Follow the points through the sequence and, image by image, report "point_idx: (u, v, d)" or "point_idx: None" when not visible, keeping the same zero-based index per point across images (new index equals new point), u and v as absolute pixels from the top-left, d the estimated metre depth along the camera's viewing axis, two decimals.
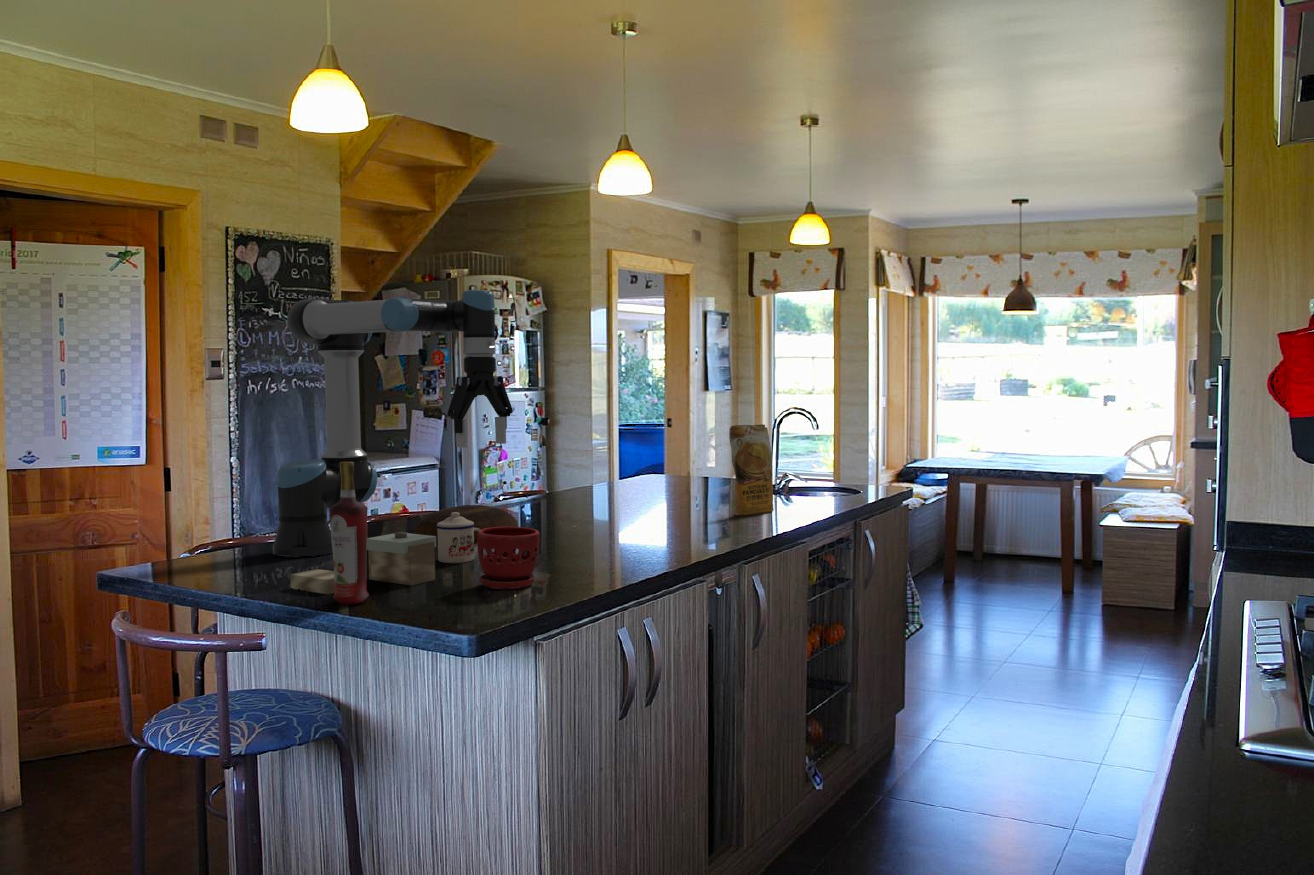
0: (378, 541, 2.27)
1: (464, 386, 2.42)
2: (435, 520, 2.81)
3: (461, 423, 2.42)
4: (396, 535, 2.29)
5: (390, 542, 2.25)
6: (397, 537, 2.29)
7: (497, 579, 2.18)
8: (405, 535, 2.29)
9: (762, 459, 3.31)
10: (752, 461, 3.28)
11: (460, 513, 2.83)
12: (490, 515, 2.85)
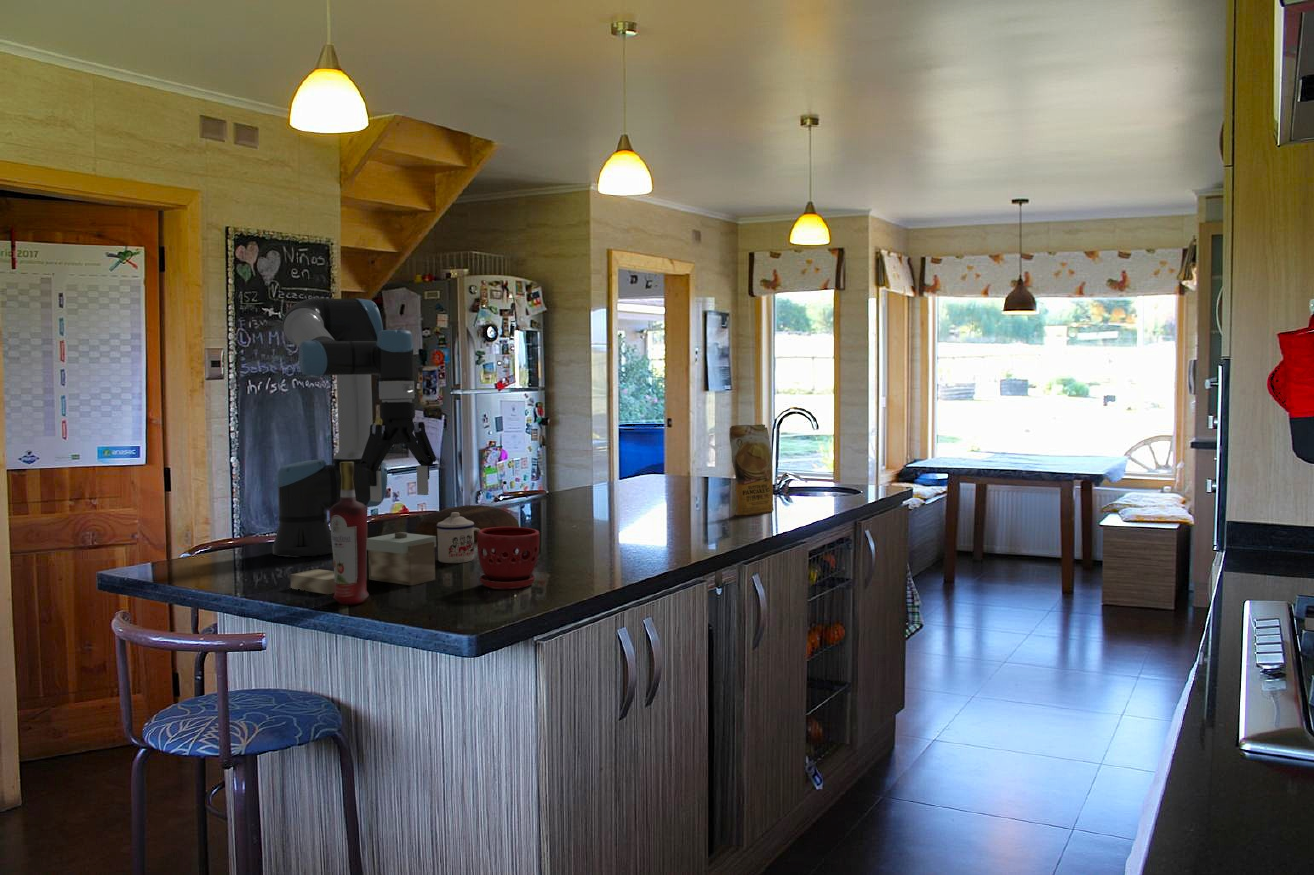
0: (378, 541, 2.27)
1: (378, 435, 2.22)
2: (436, 521, 2.81)
3: (374, 475, 2.22)
4: (396, 535, 2.29)
5: (390, 542, 2.25)
6: (397, 537, 2.29)
7: (497, 579, 2.18)
8: (405, 535, 2.29)
9: (762, 459, 3.31)
10: (752, 461, 3.28)
11: (461, 513, 2.82)
12: (491, 515, 2.84)
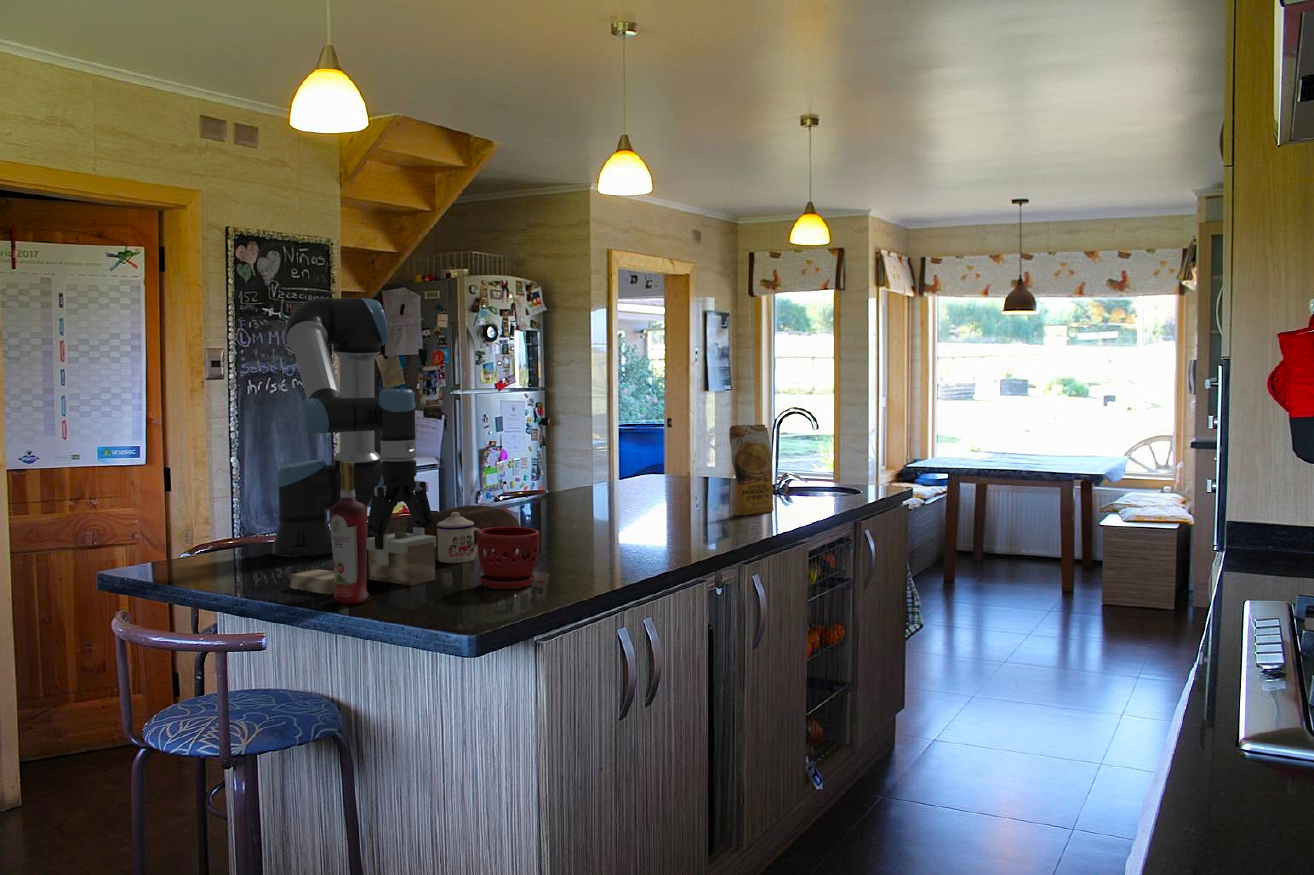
0: None
1: (381, 497, 2.23)
2: (437, 521, 2.80)
3: (381, 539, 2.24)
4: (396, 535, 2.29)
5: (390, 542, 2.25)
6: (397, 537, 2.29)
7: (497, 579, 2.18)
8: (405, 535, 2.29)
9: (762, 458, 3.31)
10: (752, 461, 3.28)
11: (462, 514, 2.82)
12: (491, 516, 2.84)
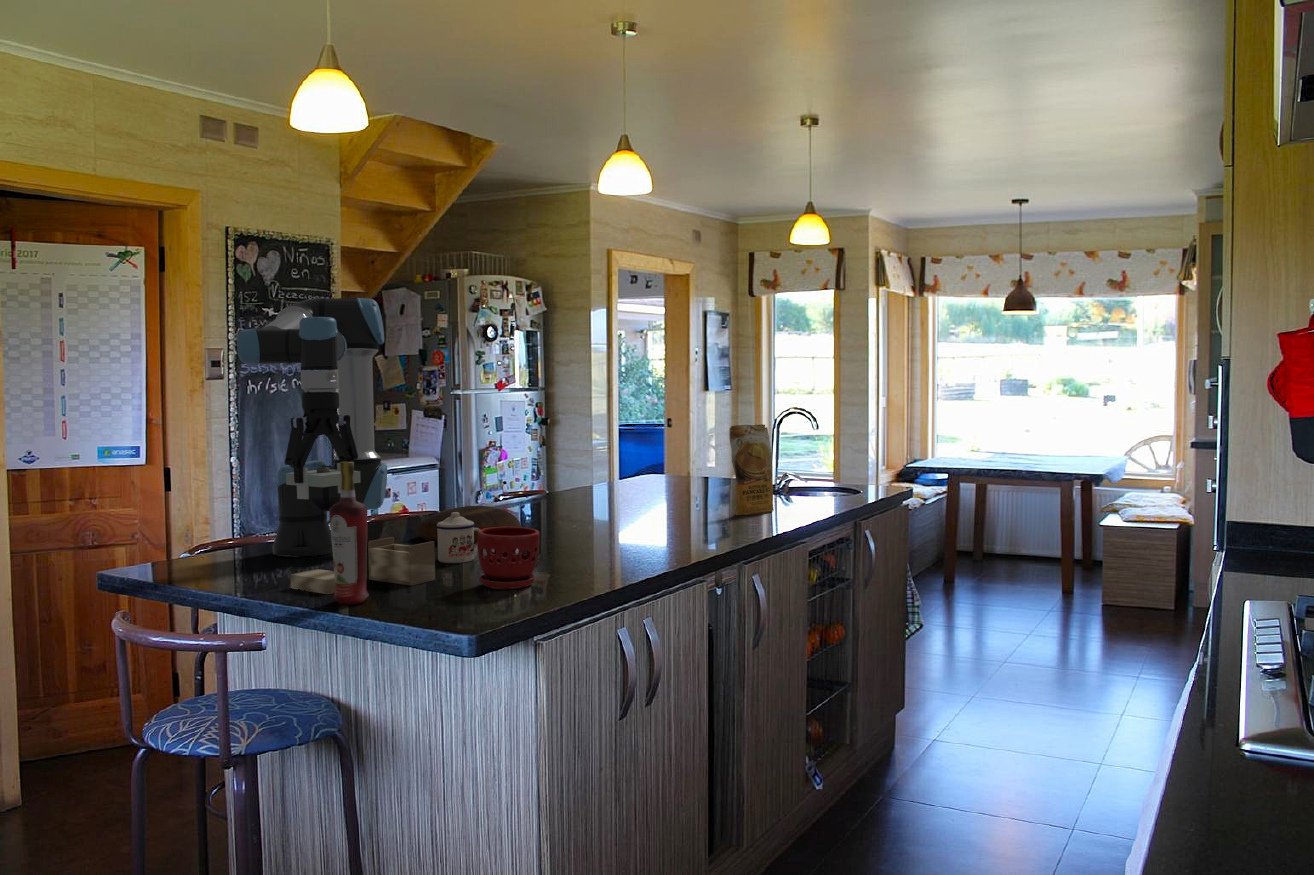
0: None
1: (300, 429, 2.14)
2: (439, 521, 2.79)
3: (301, 472, 2.15)
4: (318, 469, 2.20)
5: (310, 475, 2.16)
6: (319, 471, 2.20)
7: (497, 579, 2.18)
8: (327, 470, 2.21)
9: (762, 459, 3.31)
10: (752, 461, 3.28)
11: (463, 514, 2.81)
12: (493, 516, 2.83)
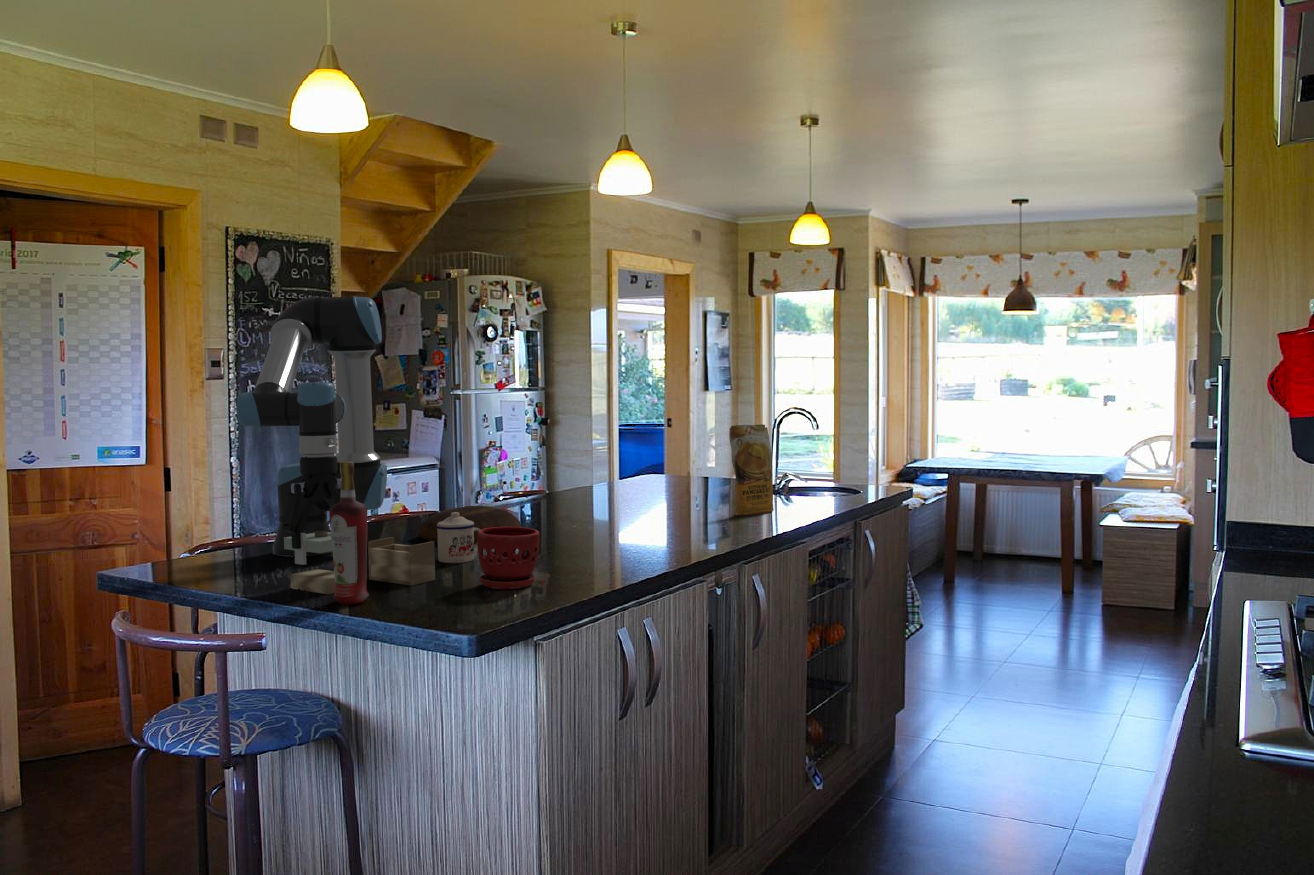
0: None
1: (298, 495, 2.15)
2: None
3: (298, 538, 2.16)
4: (316, 534, 2.20)
5: (308, 541, 2.16)
6: (317, 536, 2.20)
7: (497, 579, 2.18)
8: (325, 534, 2.21)
9: (762, 459, 3.31)
10: (752, 461, 3.28)
11: (464, 514, 2.81)
12: (494, 516, 2.83)
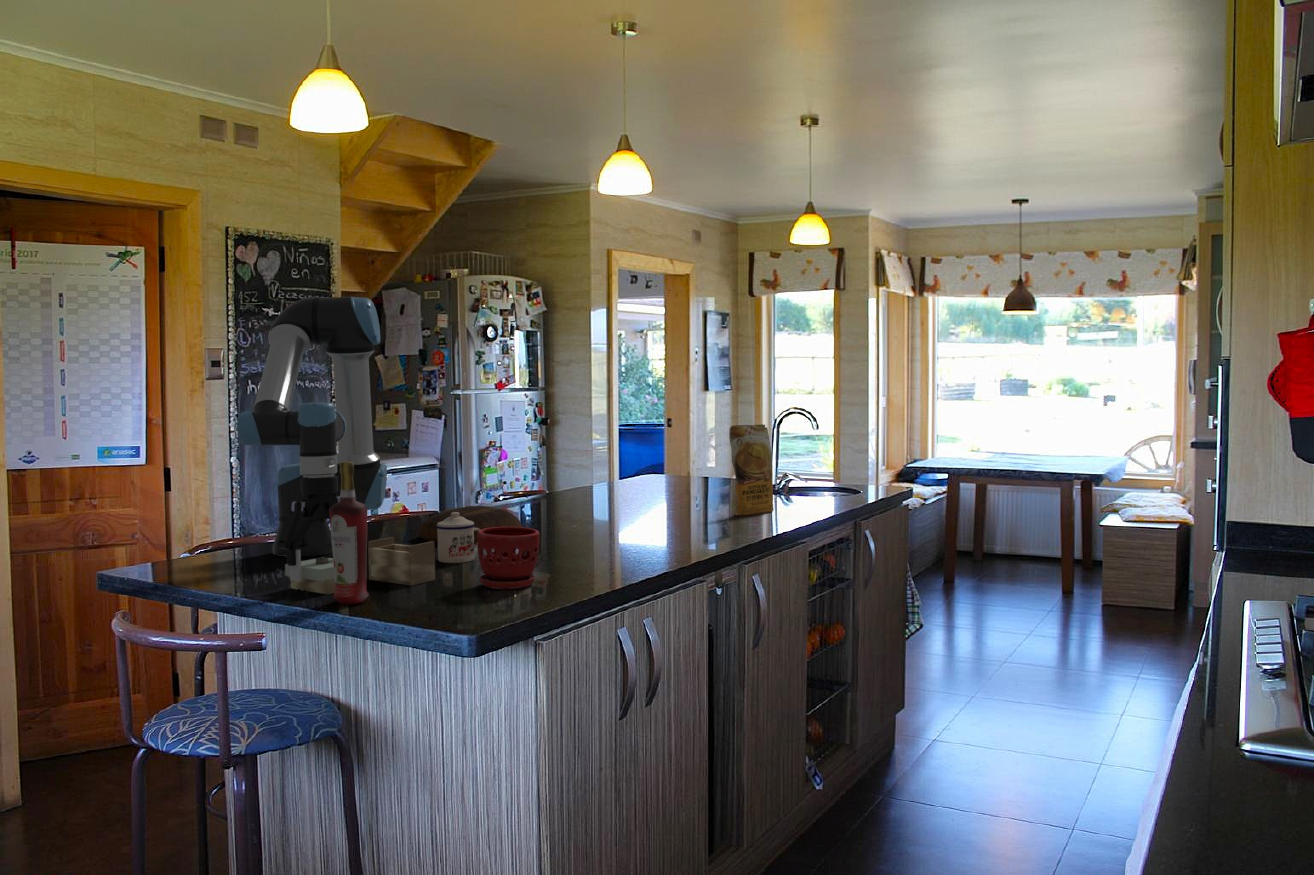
0: None
1: (297, 513, 2.15)
2: None
3: (293, 555, 2.15)
4: (317, 561, 2.21)
5: (309, 569, 2.17)
6: (318, 563, 2.21)
7: (497, 579, 2.18)
8: (326, 561, 2.21)
9: (762, 459, 3.31)
10: (752, 461, 3.28)
11: (465, 514, 2.80)
12: (495, 516, 2.83)
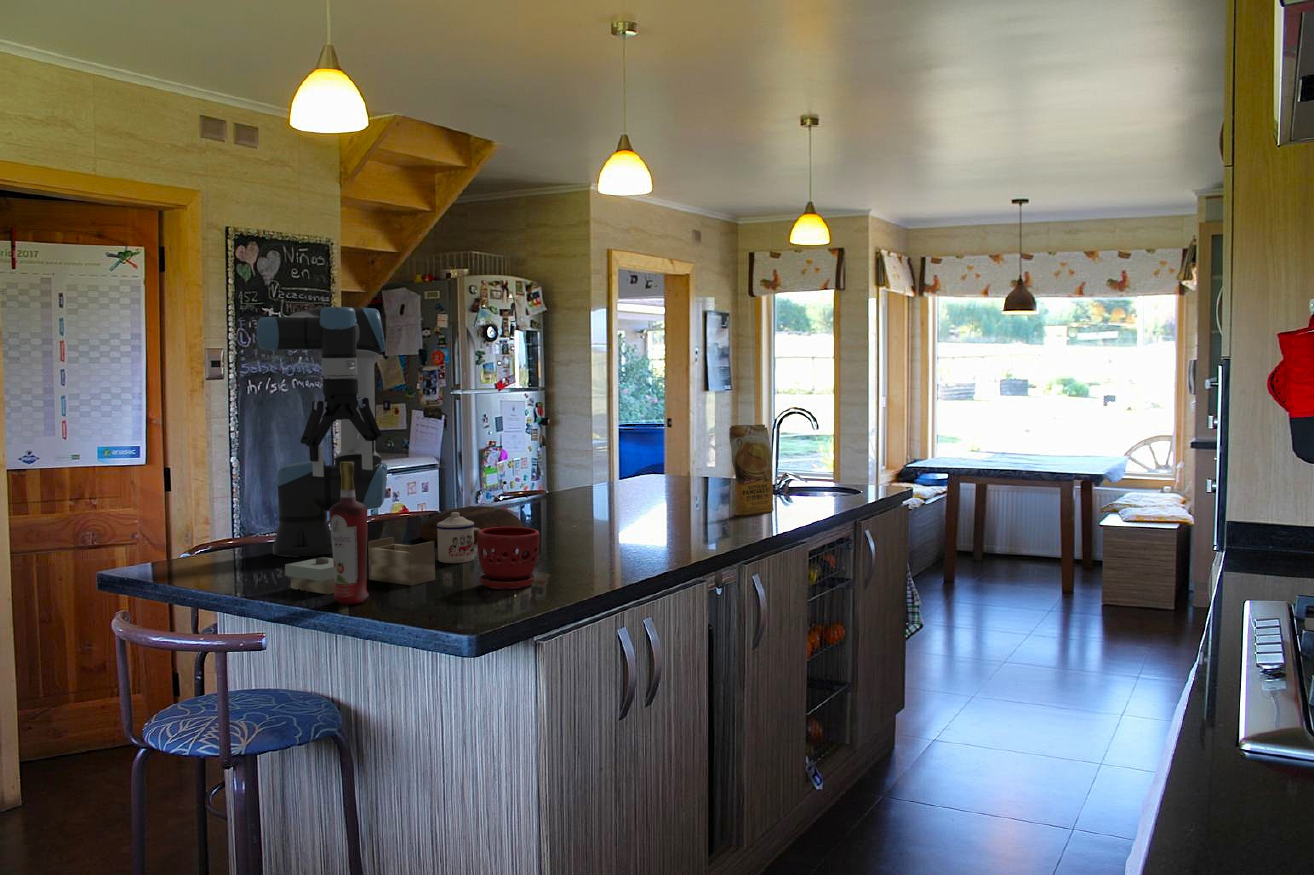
0: (297, 567, 2.19)
1: (319, 411, 2.25)
2: None
3: (316, 451, 2.26)
4: (317, 561, 2.21)
5: (309, 569, 2.17)
6: (318, 563, 2.21)
7: (497, 579, 2.18)
8: (326, 561, 2.21)
9: (762, 458, 3.31)
10: (752, 461, 3.28)
11: (466, 514, 2.80)
12: (496, 516, 2.82)
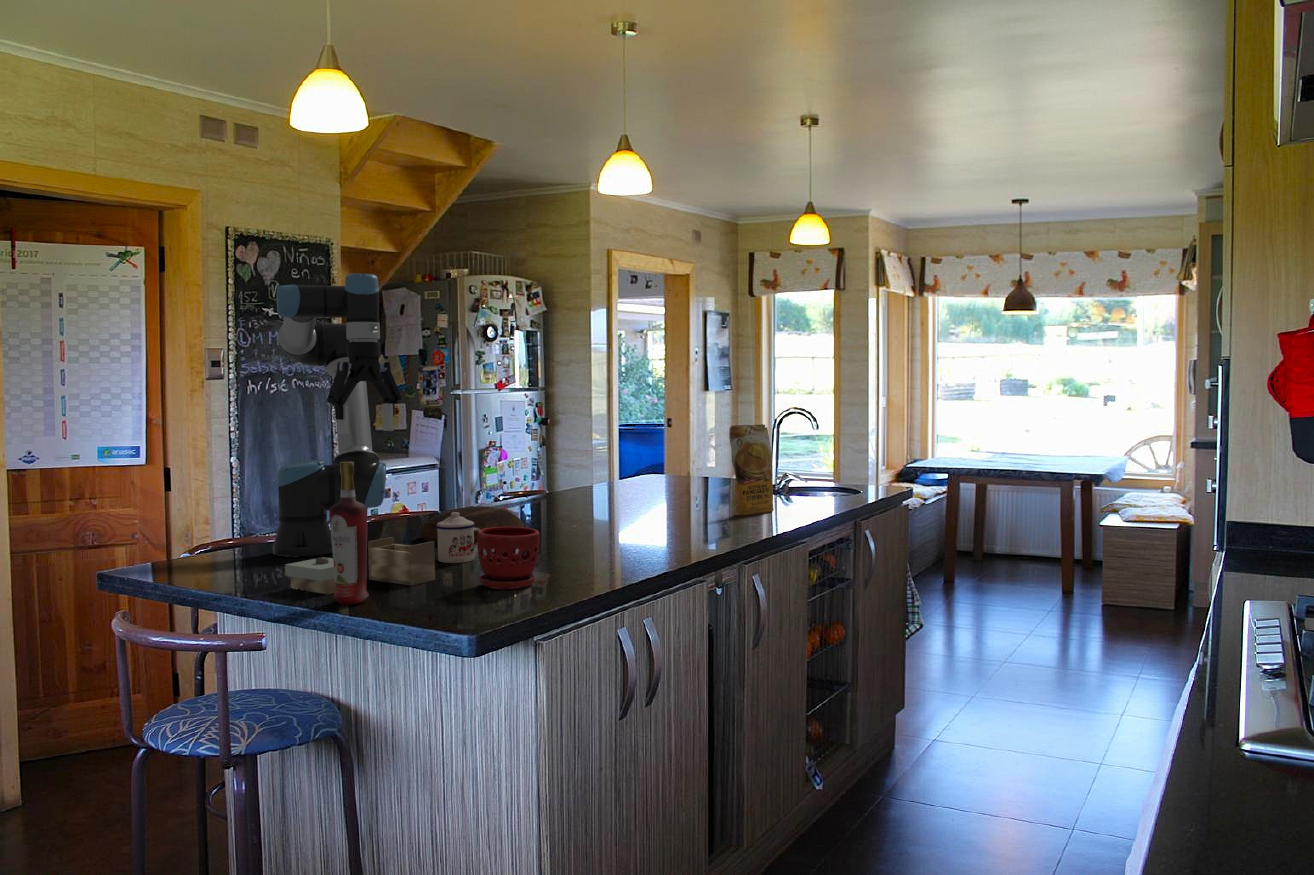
0: (297, 567, 2.19)
1: (345, 371, 2.37)
2: None
3: (341, 409, 2.37)
4: (317, 561, 2.21)
5: (309, 569, 2.17)
6: (318, 563, 2.21)
7: (497, 579, 2.18)
8: (326, 561, 2.21)
9: (762, 459, 3.31)
10: (752, 461, 3.28)
11: (467, 515, 2.79)
12: (497, 516, 2.82)
